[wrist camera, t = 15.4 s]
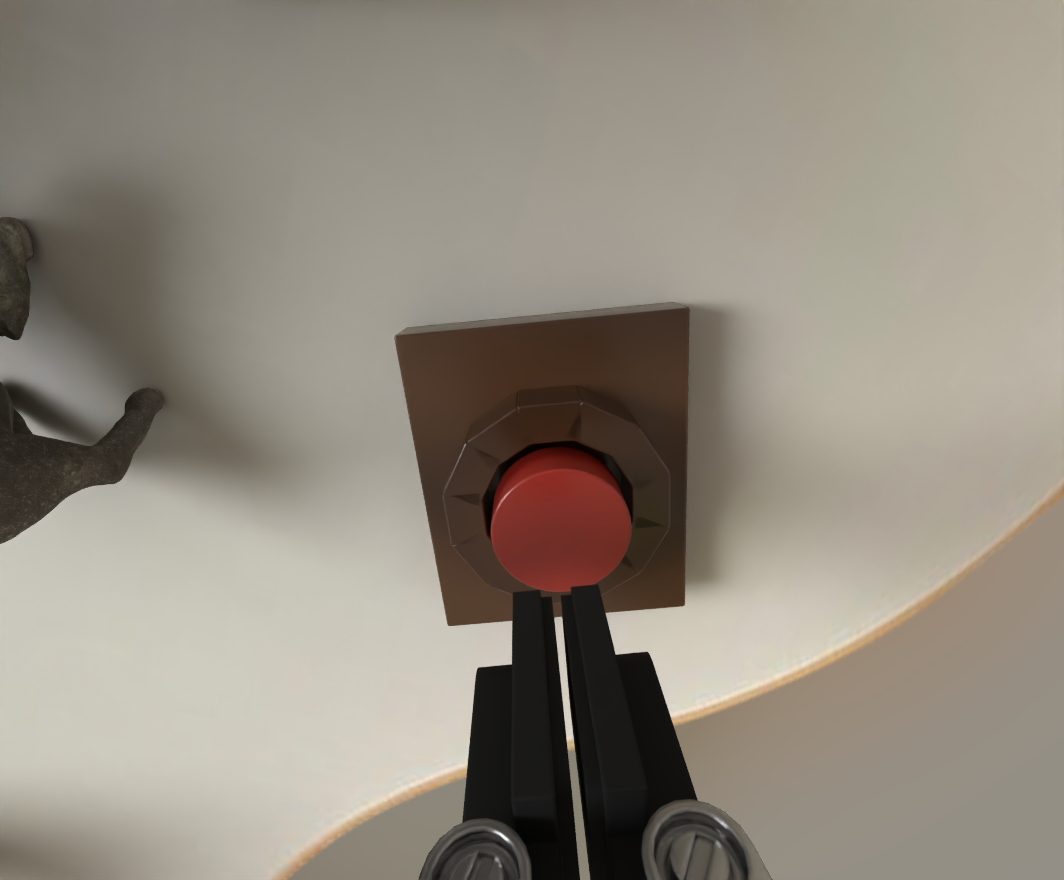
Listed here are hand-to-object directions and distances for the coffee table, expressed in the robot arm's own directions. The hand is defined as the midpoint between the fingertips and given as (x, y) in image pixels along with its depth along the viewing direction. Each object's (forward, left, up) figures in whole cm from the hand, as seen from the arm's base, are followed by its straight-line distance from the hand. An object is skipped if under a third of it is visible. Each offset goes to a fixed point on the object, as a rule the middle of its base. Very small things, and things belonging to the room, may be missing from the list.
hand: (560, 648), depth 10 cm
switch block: (0, 0, -9) cm, 9 cm away
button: (0, 0, -6) cm, 6 cm away
